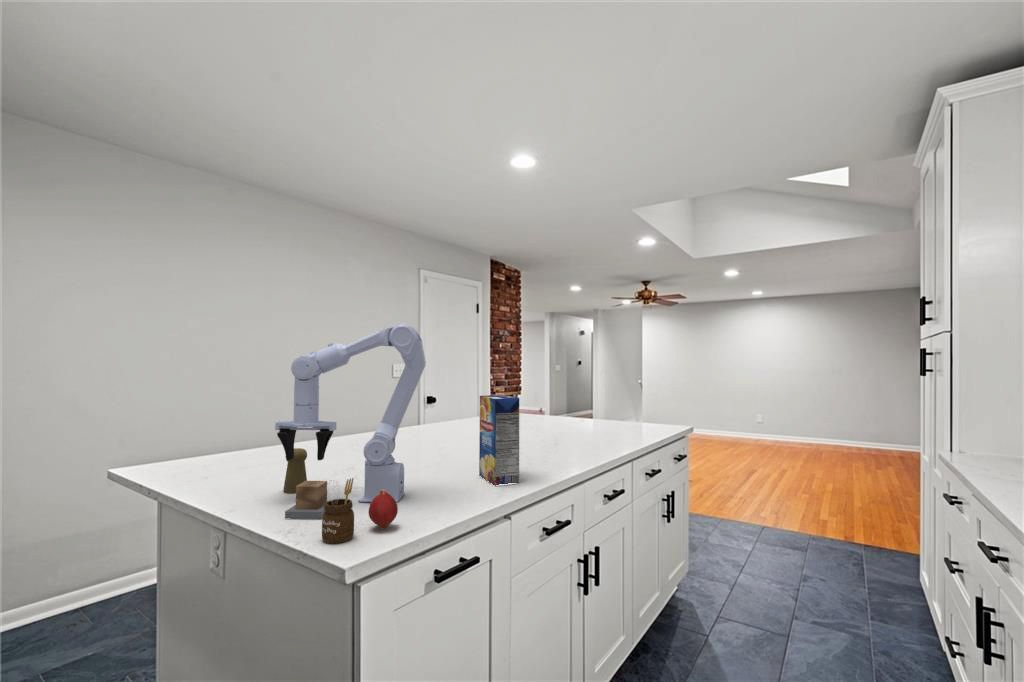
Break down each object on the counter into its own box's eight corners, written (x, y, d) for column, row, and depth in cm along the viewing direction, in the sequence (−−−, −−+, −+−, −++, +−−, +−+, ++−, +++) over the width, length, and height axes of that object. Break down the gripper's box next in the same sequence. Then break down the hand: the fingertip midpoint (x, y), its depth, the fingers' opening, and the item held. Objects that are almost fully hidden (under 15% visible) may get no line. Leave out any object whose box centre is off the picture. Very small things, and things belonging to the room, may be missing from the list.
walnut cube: (327, 502, 112) (327, 480, 112) (317, 509, 107) (318, 486, 107) (305, 502, 112) (306, 480, 112) (295, 509, 107) (295, 486, 107)
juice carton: (479, 476, 143) (479, 395, 144) (502, 474, 146) (502, 394, 147) (494, 486, 132) (495, 398, 133) (519, 483, 135) (519, 398, 136)
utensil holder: (339, 531, 98) (340, 471, 98) (361, 537, 95) (362, 475, 95) (314, 540, 93) (315, 477, 93) (337, 547, 90) (338, 482, 90)
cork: (298, 494, 124) (299, 451, 124) (277, 493, 125) (278, 450, 125) (312, 488, 130) (313, 447, 130) (292, 487, 131) (293, 446, 131)
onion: (371, 523, 102) (372, 485, 103) (399, 523, 103) (399, 485, 103) (365, 533, 97) (366, 493, 97) (395, 532, 97) (395, 492, 97)
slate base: (335, 507, 113) (335, 500, 113) (321, 519, 105) (321, 511, 105) (301, 507, 113) (301, 500, 113) (284, 518, 105) (284, 511, 105)
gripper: (269, 405, 116) (267, 462, 116) (328, 406, 116) (327, 463, 115) (283, 403, 123) (282, 456, 123) (339, 403, 123) (339, 457, 122)
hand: (305, 459), depth 120 cm, fingers open, 7 cm apart
